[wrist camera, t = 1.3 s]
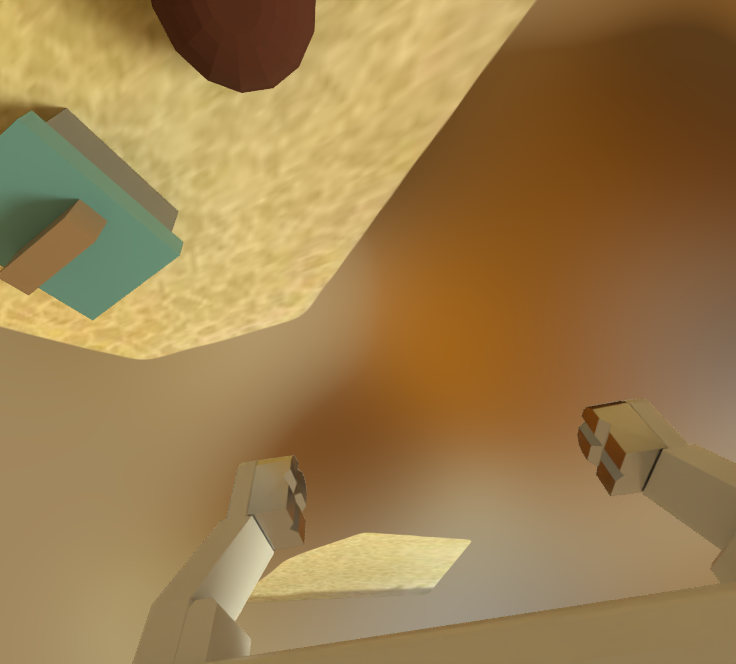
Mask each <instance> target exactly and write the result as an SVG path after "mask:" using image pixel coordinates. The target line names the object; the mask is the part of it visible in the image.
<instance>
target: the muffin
mask: <svg viewBox="0 0 736 664" xmlns="http://www.w3.org/2000/svg"><path fill="white" fill-rule="evenodd" d="M151 3H152V7H153V9H154V11H155V13H156V14H157V16H158V18H159V20H160V22H161V24H162V26H163V28H164V29H165V31H166V33H167V35H168V37H169V39H170V41H171V43H172V45H173V46H174V48H175V50H176V51H177V52H178V53H179V54H180V55H181V56H182V57H183V58H184V59H185V60H186V61H187V62H188V63H189V64H191V65H192V66H193V67H194V68H195V69H196V70H197V71H198V72H199V73H200V74H201V75H202V76H203V77H204V78H206V79H207V80H208V81H211V82H213V83H216V84H219V85H222V86H224V87H227V88H230V89H232V90H235V91H238V92H241V93H244V92H251V91H257V90H264V89H270V88H274V87H275V86H276V85H278V84H279V83H280V82H281V81H282V80H284V79H285V78H286V77H287V76H289V75H290V74H291V73H292V72H293V71H295V70H296V69H297V68H298V67H299V65H300V63H301V61H302V59H303V56H304V54H305V52H306V49H307V47H308V45H309V43H310V40H311V38H312V36H313V33H314V28H315V3H316V0H151Z"/></svg>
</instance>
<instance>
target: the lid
mask: <svg viewBox="0 0 736 664" xmlns="http://www.w3.org/2000/svg"><path fill="white" fill-rule="evenodd" d="M182 245H183V241H181V240H180V239H179V238H178V237H177V236H176V235H175V234H173V233H172V232H171V231H170V230H169V229H168V228H166V227H165V226H164V225H163V224H162V223H161V222H160V221H158V220H157V219H156V218H155V217H154V216H153V215H152V214H150V213H149V212H148V211H147V210H146V209H145V208H144V207H142V206H141V205H140V204H139V203H138V202H137V201H135V200H134V199H133V198H132V197H131V196H130V195H129V194H127V193H126V192H125V191H124V190H123V189H122V188H121V187H119V186H118V185H117V184H116V183H115V182H114V181H113V180H111V179H110V178H109V177H108V176H107V175H106V174H104V173H103V172H102V171H101V170H100V169H99V168H98V167H96V166H95V165H94V164H93V163H92V162H91V161H90V160H88V159H87V158H86V157H85V156H84V155H83V154H82V153H80V152H79V151H78V150H77V149H76V148H75V147H73V146H72V145H71V144H70V143H69V142H68V141H67V140H65V139H64V138H63V137H62V136H61V135H60V134H59V133H57V132H56V131H55V130H54V129H53V128H52V127H51V126H49V125H48V124H47V123H46V122H45V121H44V120H42V119H41V118H40V117H39V116H38V115H37V114H36V113H34V112H33V111H30V112H28V113H27V114H25V115H23V116H22V117H20V118H18V119H17V120H16V121H15V122H14V123H13V124H12V125H11V126H10V127H9V128H7V129H6V130H5V131H4V132H3V133H2V134H1V135H0V265H1V266H3V269H2V270H1V271H0V279H1V280H3V281H5V282H6V283H8V284H10V285H12V286H13V287H15V288H17V289H19V290H20V291H22V292H24V293H25V294H27V295H30V294H31V293H32V292H34V291H35V290H36V289H37V288H40V289H41V290H43V291H45V292H46V293H48V294H50V295H51V296H53V297H55V298H56V299H58V300H60V301H61V302H63V303H65V304H66V305H68V306H70V307H71V308H73V309H75V310H76V311H78V312H80V313H81V314H83V315H85V316H86V317H88V318H90V319H91V320H94V319H95V318H97V317H98V316H99V315H101V314H102V313H103V312H105V311H106V310H107V309H109V308H110V307H111V306H113V305H114V304H115V303H117V302H118V301H119V300H121V299H122V298H123V297H125V296H126V295H127V294H129V293H130V292H131V291H133V290H134V289H135V288H137V287H138V286H139V285H141V284H142V283H143V282H145V281H146V280H147V279H149V278H150V277H151V276H153V275H154V274H155V273H157V272H158V271H159V270H161V269H162V268H164V267H165V266H166V265H168V264H169V263H170V262H172V261H173V260H174V259H176V258H177V257H178V256H180V253H181V249H182Z"/></svg>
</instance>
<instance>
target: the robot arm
mask: <svg viewBox="0 0 736 664" xmlns="http://www.w3.org/2000/svg"><path fill="white" fill-rule="evenodd" d="M582 417H583V419H584V421H585V422H584V423H583V424H582V425H581V426H580V427H579V430H578V442H579V446H580V448H581V451H582V453H583V454H584V456H585V458H586V459H587V460H588V461H589V462H591V463H593V464H594V465H596V466H597V472H596V475H597V476H598V478H599V480H600V481H601V483H602V484H603V486H604V487H605V489H606V490H607V492H608V494H609V495H610V496H617V495H625V494H632V493H640V492H643V494H644V495H645V496H646V497H648V498H649V499H651V500H652V501H653V502H655V503H656V504H658V505H659V506H660V507H662V508H663V509H665V510H666V511H668V512H669V513H670V514H672V515H673V516H674V517H676V518H677V519H679V520H680V521H682V522H683V523H684V524H686V525H687V526H688V527H690V528H691V529H693V530H694V531H695V532H697V533H698V534H699V535H701V536H702V537H704V538H705V539H706V540H708V541H709V542H711V543H712V544H714V545H715V546H716V547H718V548H719V549H720V550H722V551H721V552H720V553H719V554H718V556H717V557H716V558H715V560H714V561H713V562H712V565H711V568H710V569H711V571H712V572H713V573H714V575H715V576H716V577H717V579H718V580H719V582H720V583H721V584H714V585H708V586H701V587H694V588H688V589H681V590H676V591H668V592H662V593H656V594H649V595H643V596H636V597H629V598H622V599H617V600H609V601H603V602H596V603H590V604H583V605H577V606H570V607H564V608H557V609H551V610H544V611H538V612H531V613H524V614H518V615H512V616H505V617H499V618H492V619H485V620H479V621H472V622H466V623H459V624H452V625H446V626H440V627H433V628H426V629H420V630H413V631H407V632H400V633H394V634H387V635H381V636H374V637H368V638H361V639H355V640H349V641H342V642H335V643H329V644H322V645H316V646H309V647H303V648H296V649H289V650H283V651H276V652H270V653H263V654H257V655H250V656H249V653H250V644H251V639H250V638H249V636H248V635H247V634H246V633H245V632H244V631H243V630H242V628H241V627H240V626H239V625H238V624H237V623H236V622H235V621H236V619H237V617H238V615H239V614H240V612H241V610H242V608H243V607H244V605H245V603H246V601H247V600H248V598H249V596H250V594H251V592H252V591H253V589H254V587H255V585H256V584H257V582H258V580H259V578H260V576H261V575H262V573H263V571H264V570H265V568H266V566H267V564H268V563H269V561H270V559H271V557H272V556H273V554H274V552H273V551H275V550H280V549H285V548H291V547H296V546H301V545H304V540H305V522H306V521H305V519H304V517H303V514H302V511H303V510H304V508H305V507H306V501H307V493H306V483H305V479H304V476H303V473H302V472H301V471H299V470H298V461H297V459H296V457H295V456H288V457H280V458H272V459H265V460H258V461H251V462H245V463H241V464H240V466H239V467H238V469H237V473H236V478H235V482H234V486H233V491H232V496H231V500H230V504H229V509H228V513H227V517H226V519H225V520H221V521H220V522H219V523H218V524H217V525H216V527H215V528H214V529H213V530H212V532H211V533H210V534H209V535H208V537H207V538H206V539H205V540H204V541H203V543H202V544H201V545H200V546H199V548H198V549H197V550H196V551H195V552H194V554H193V555H192V556H191V557H190V559H189V560H188V561H187V562H186V563H185V565H184V566H183V567H182V568H181V570H180V571H179V572H178V574H177V575H176V576H175V577H174V578H173V579H172V581H171V582H170V583H169V584H168V586H167V587H166V588H165V589H164V590H163V592H162V593H161V594H160V595H159V597H158V598H157V599H156V600H155V602H154V603H153V604H152V605H151V608H150V612H149V615H148V618H147V621H146V624H145V627H144V630H143V633H142V636H141V639H140V642H139V645H138V648H137V651H136V654H135V657H134V660H133V663H132V664H736V463H734V462H732V461H729V460H728V459H725V458H723V457H721V456H719V455H717V454H715V453H713V452H711V451H709V450H706V449H705V448H703V447H700V446H698V445H696V444H692V445H689V444H688V443H687V442H686V441H685V440H684V438H683V437H682V436H681V435H680V434H679V433H678V432H677V431H676V430H675V429H674V428H673V427H672V426H671V425H670V424H669V422H668V421H667V420H666V419H665V418H664V417H663V416H662V415H661V414H660V413H659V412H658V411H657V410H656V409H655V408H654V407H653V405H652V404H651V403H650V402H649V401H648V400H646V399H644V398H637V399H631V400H625V401H617V402H611V403H606V404H600V405H594V406H589V407H586V408H585V409H584V410H583V413H582Z"/></svg>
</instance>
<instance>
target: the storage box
mask: <svg viewBox="0 0 736 664" xmlns="http://www.w3.org/2000/svg"><path fill="white" fill-rule="evenodd" d="M46 123H47V124H48V125H49V126H51V127H52V128H53V129H54V130H55V131H56V132H57V133H59V134H60V135H61V136H62V137H63V138H64V139H65V140H67V141H68V142H69V143H70V144H71V145H72V146H73V147H75V148H76V149H77V150H78V151H79V152H80V153H82V154H83V155H84V156H85V157H86V158H87V159H88V160H90V161H91V162H92V163H93V164H94V165H95V166H96V167H98V168H99V169H100V170H101V171H102V172H103V173H104V174H106V175H107V176H108V177H109V178H110V179H111V180H113V181H114V182H115V183H116V184H117V185H118V186H119V187H121V188H122V189H123V190H124V191H125V192H126V193H127V194H129V195H130V196H131V197H132V198H133V199H134V200H135V201H137V202H138V203H139V204H140V205H141V206H142V207H144V208H145V209H146V210H147V211H148V212H149V213H150V214H152V215H153V216H154V217H155V218H156V219H157V220H158V221H160V222H161V223H162V224H163V225H164V226H165V227H166V228H168V229H169V230H170V231H171V232H172V229H173V226H174V223H175V220H176V217H177V214H178V211H177V210H176V209H175V208H174V207H173V206H172V205H171V204H170V203H169V202H168V201H166V200H165V199H164V198H163V197H162V196H161V195H160V194H159V193H158V192H157V191H156V190H155V189H153V188H152V187H151V186H150V185H149V184H148V183H147V182H146V181H145V180H144V179H143V178H142V177H141V176H139V175H138V174H137V173H136V172H135V171H134V170H133V169H132V168H131V167H130V166H129V165H128V164H126V163H125V162H124V161H123V160H122V159H121V158H120V157H119V156H118V155H117V154H116V153H115V152H113V151H112V150H111V149H110V148H109V147H108V146H107V145H106V144H105V143H104V142H103V141H102V140H100V139H99V138H98V137H97V136H96V135H95V134H94V133H93V132H92V131H91V130H90V129H89V128H87V127H86V126H85V125H84V124H83V123H82V122H81V121H80V120H79V119H78V118H77V117H76V116H75V115H73V114H72V113H71V112H70V111H69V110H68V109H67V108H66V109H64V110H63V111H61V112H60V113H59V114H57V115H56V116H54V117H53V118H51V119H50V120H49V121H47V122H46Z"/></svg>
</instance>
